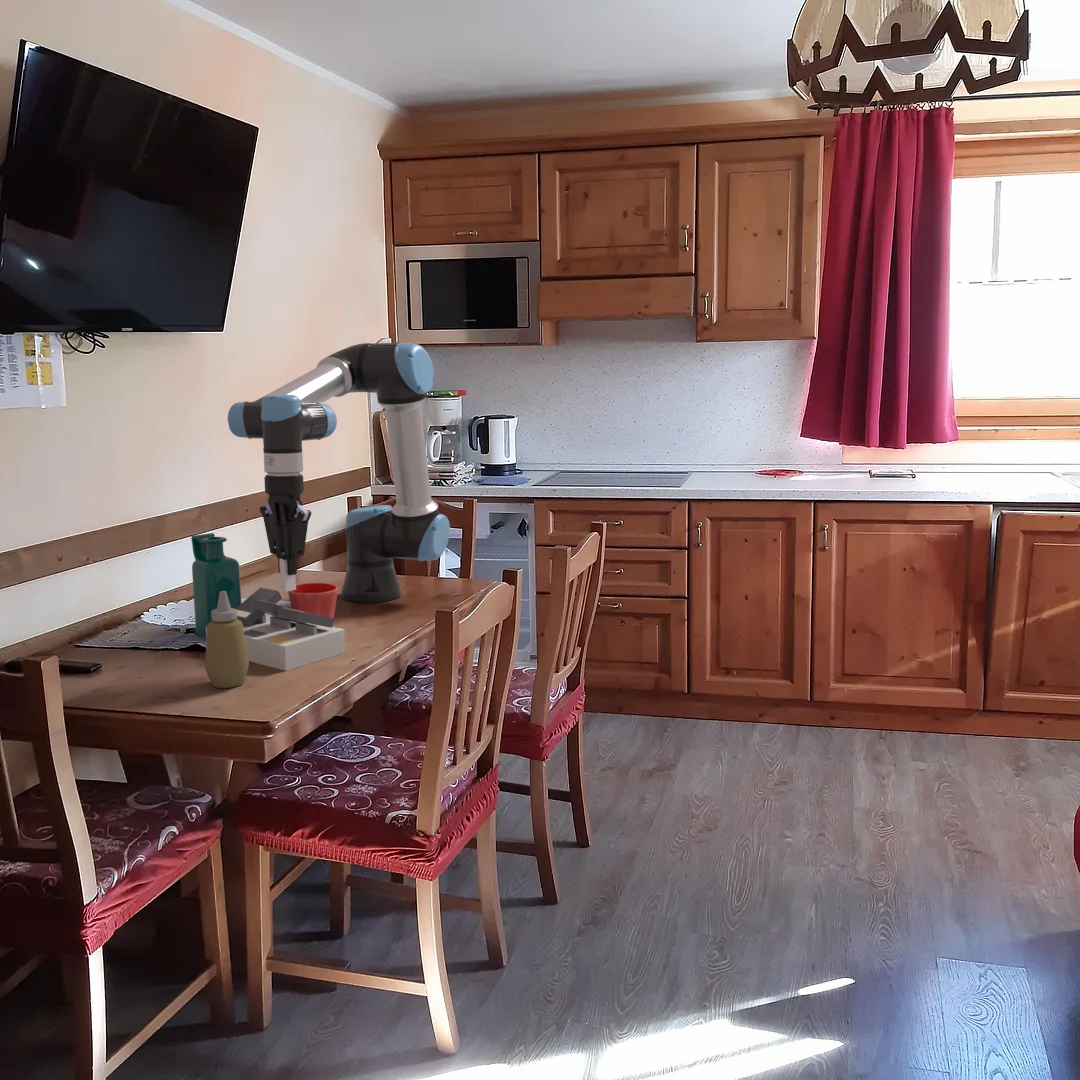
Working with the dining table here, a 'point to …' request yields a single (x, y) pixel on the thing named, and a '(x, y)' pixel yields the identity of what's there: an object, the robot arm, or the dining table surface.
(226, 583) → the pitcher
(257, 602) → the rocker
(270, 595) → the rocker
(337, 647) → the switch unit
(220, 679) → the squeeze bottle
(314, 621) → the rocker
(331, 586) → the flower pot
